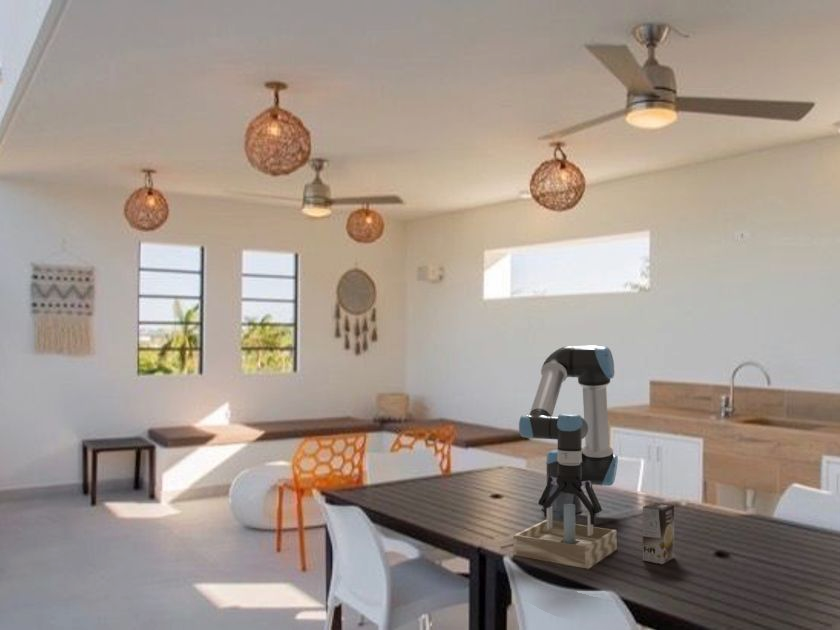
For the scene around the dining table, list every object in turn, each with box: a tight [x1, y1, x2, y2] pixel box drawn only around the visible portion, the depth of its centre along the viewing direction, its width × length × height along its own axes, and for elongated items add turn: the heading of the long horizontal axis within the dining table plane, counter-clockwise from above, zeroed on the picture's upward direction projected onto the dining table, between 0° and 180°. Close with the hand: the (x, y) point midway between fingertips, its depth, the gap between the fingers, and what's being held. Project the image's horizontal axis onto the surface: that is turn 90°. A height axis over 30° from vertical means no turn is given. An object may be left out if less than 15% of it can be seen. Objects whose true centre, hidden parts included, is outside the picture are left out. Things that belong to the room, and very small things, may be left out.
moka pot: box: [549, 476, 574, 522], centre depth 259 cm, size 10×15×20 cm, turn 15°
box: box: [512, 519, 618, 570], centre depth 235 cm, size 24×24×6 cm
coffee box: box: [642, 502, 675, 565], centre depth 228 cm, size 9×6×16 cm
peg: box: [564, 504, 576, 544], centre depth 237 cm, size 4×4×14 cm
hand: (569, 531), depth 237 cm, fingers open, 13 cm apart
